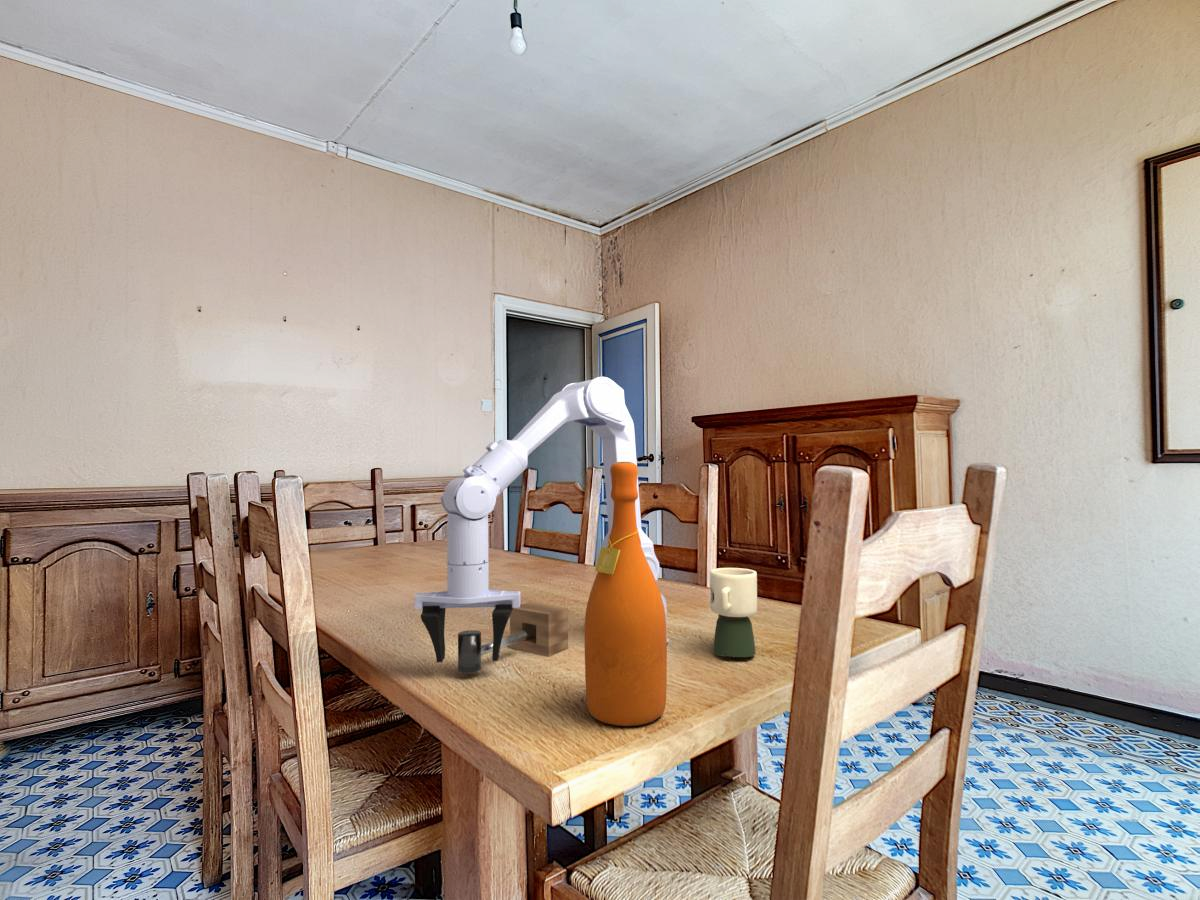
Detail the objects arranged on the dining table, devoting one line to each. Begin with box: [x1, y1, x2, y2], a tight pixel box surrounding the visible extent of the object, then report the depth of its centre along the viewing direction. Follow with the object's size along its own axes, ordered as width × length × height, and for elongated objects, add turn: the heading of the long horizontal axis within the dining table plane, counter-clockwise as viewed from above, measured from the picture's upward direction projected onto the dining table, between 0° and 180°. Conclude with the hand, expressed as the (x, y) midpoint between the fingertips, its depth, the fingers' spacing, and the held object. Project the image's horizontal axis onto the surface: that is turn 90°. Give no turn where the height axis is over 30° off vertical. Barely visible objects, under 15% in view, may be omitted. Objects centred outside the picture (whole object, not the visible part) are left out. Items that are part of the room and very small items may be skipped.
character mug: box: [709, 567, 758, 660], centre depth 93 cm, size 11×7×13 cm, turn 152°
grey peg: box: [457, 629, 527, 674], centre depth 90 cm, size 13×3×5 cm, turn 146°
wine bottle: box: [584, 462, 668, 727], centre depth 73 cm, size 10×10×30 cm
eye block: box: [509, 601, 569, 657], centre depth 98 cm, size 5×8×6 cm, turn 56°
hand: (468, 659), depth 85 cm, fingers open, 7 cm apart
